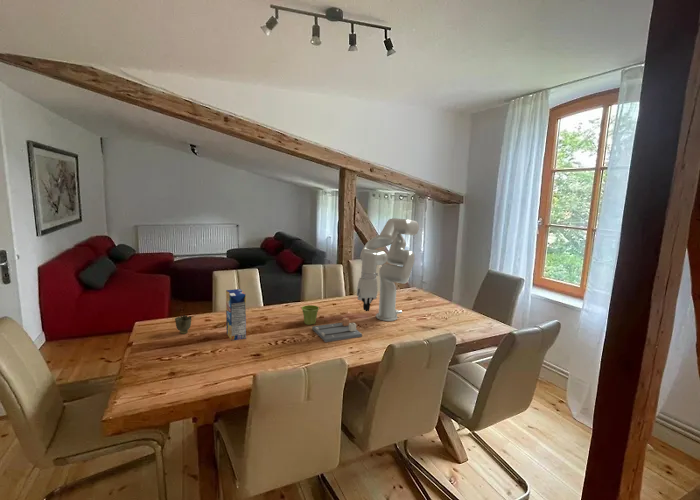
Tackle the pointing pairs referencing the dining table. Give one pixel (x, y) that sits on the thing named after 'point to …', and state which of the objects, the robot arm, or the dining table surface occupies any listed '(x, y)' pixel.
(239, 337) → the beverage box
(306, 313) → the plant pot
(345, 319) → the fader rust
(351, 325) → the fader ivory
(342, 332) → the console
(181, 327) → the cup
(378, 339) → the dining table surface
